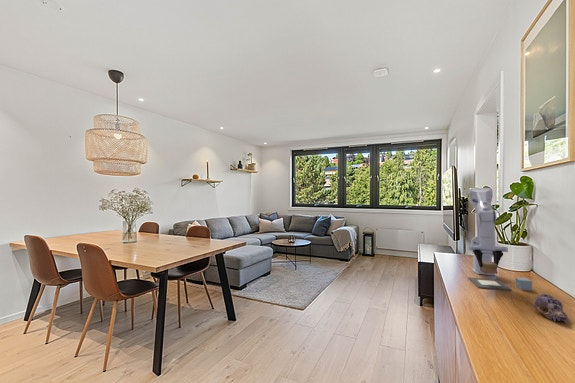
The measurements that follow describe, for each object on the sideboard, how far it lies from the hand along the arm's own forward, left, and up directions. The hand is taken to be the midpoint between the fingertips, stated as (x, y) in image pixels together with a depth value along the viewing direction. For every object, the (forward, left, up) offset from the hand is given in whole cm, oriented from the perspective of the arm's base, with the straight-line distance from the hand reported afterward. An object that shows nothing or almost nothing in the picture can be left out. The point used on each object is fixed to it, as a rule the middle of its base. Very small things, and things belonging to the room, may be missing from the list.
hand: (488, 267), depth 121 cm
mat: (0, 0, -8) cm, 8 cm away
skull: (+31, +8, -8) cm, 33 cm away
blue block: (+2, +12, -8) cm, 15 cm away
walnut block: (0, 0, -2) cm, 2 cm away
